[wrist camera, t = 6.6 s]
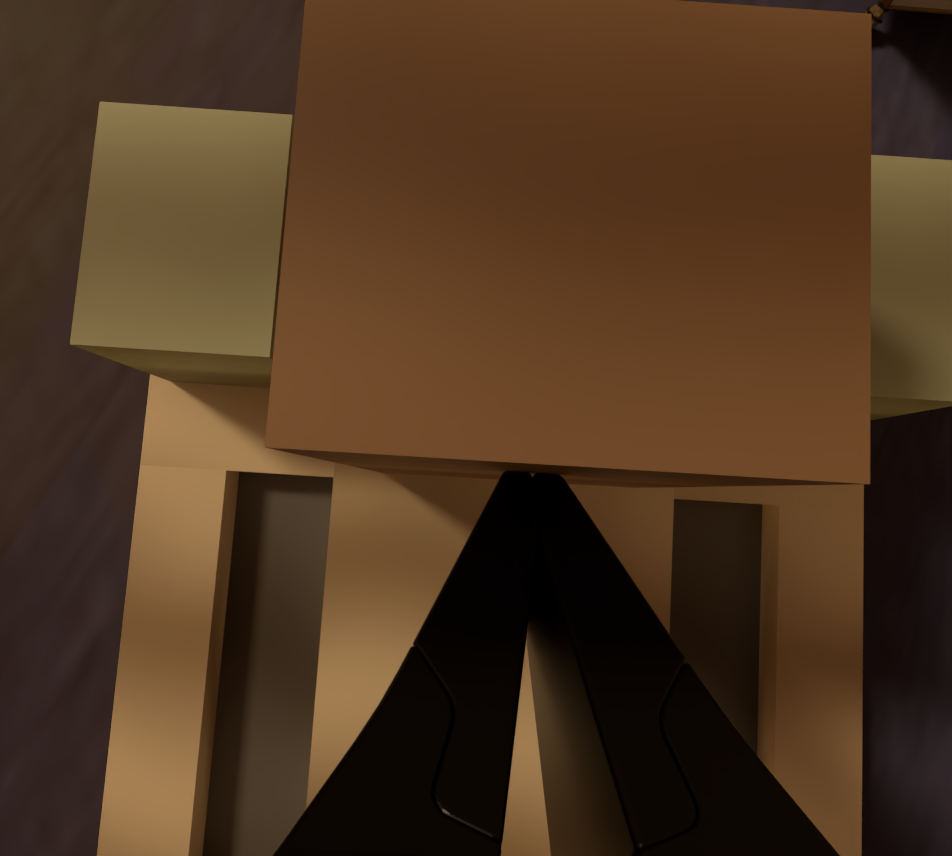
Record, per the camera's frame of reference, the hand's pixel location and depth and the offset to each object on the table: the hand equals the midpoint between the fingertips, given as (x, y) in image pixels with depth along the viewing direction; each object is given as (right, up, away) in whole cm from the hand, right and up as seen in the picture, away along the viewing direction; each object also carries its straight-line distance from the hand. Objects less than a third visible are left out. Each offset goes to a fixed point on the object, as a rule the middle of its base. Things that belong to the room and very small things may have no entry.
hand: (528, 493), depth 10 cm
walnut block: (0, +2, +6) cm, 6 cm away
